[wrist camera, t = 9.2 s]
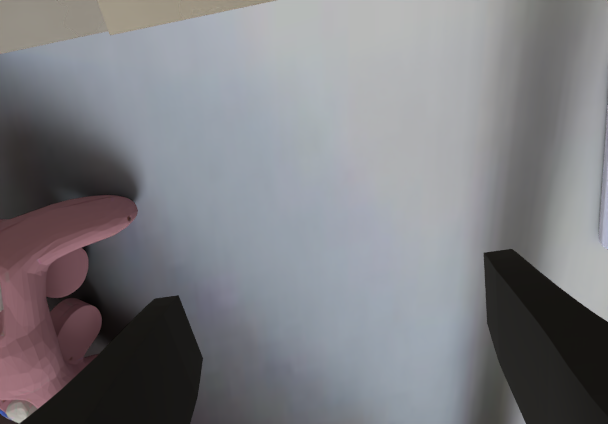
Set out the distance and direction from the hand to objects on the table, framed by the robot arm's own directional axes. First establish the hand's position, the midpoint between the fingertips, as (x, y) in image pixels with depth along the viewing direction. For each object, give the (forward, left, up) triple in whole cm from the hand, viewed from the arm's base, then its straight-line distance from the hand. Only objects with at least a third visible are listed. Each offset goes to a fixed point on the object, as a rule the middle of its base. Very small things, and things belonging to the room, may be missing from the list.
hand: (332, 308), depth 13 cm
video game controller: (+12, +4, -10) cm, 16 cm away
